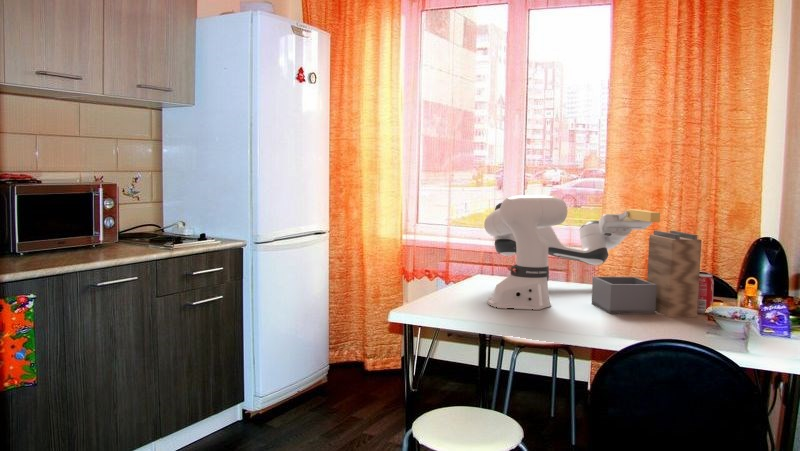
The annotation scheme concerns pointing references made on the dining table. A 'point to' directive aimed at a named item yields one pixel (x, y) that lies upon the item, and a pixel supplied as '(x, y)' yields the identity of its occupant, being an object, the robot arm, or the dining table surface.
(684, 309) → the stand
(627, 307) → the bin
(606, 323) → the dining table surface
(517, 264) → the robot arm
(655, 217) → the bar
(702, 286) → the soda can
